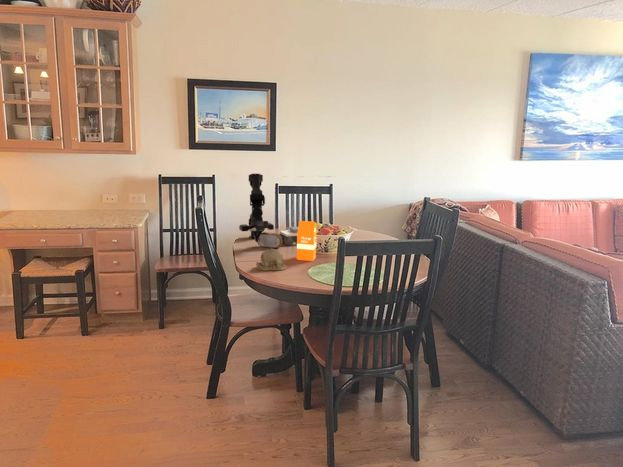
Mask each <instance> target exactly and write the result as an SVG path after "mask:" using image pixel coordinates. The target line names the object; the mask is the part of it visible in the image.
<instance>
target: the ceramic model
mask: <svg viewBox="0 0 623 467" xmlns="http://www.w3.org/2000/svg"><path fill="white" fill-rule="evenodd" d="M284 259H285V257H284V254H283V253H281V252H280V250H279V249H278V248H270V249H266V250H264V251H263V252H262V253H261V255H260V262H259V261H257V262H256V268H257V270H259V271H265V272H266V271H283V270H286V269H287V266H286V264H284V263H283V261H284Z"/></svg>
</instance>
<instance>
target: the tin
mask: <svg viewBox="0 0 623 467" xmlns="http://www.w3.org/2000/svg"><path fill="white" fill-rule="evenodd" d="M279 234H280V233H279ZM279 234H278V233H276V232H275V233H274V232H266V231H265V232H262V233H261V234H260V236H259V239H258V242H256V243H257V244H258V246H260V247H261V248H268V249H271V248H273V249H278V248H280V247H282V245H283V243H284V242H283V240H282V237H281V236H280V235H279Z"/></svg>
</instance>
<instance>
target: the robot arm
mask: <svg viewBox="0 0 623 467" xmlns="http://www.w3.org/2000/svg"><path fill="white" fill-rule="evenodd" d="M263 177H264V176H263V174H261V173H250V174H248V182H249V186H250V187H251V190H250V194H249V206H250V207H251V213H250V215H249V219H248V224H246V223H245V224H240V225H239V226H238V227H239V228H238V229H239V230H240V231H241V232H248V231H249V232H250V235H249V237H248V238H250V239H252V240H255V242H256V243H257V242H258V239H259V236H260V234H261V233H263V232H264V231H265V229H267V230H269V231H270V230H271V231H272V230H275V226H274V224H272V223H271V222H269V221H268V220H263V214H264V212H263V207H264V206H265V204H266V196H265V195H264V194H263V190H262V189H261V186H262V182H263V180H264V179H263Z"/></svg>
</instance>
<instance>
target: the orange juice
mask: <svg viewBox="0 0 623 467" xmlns="http://www.w3.org/2000/svg"><path fill="white" fill-rule="evenodd" d="M297 227H298V232H297V244H296V260H299V261H307V262H313V261H315V259H316V258H317V225H316V221H309V220H307V221H306V220H299V221H298V226H297Z"/></svg>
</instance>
